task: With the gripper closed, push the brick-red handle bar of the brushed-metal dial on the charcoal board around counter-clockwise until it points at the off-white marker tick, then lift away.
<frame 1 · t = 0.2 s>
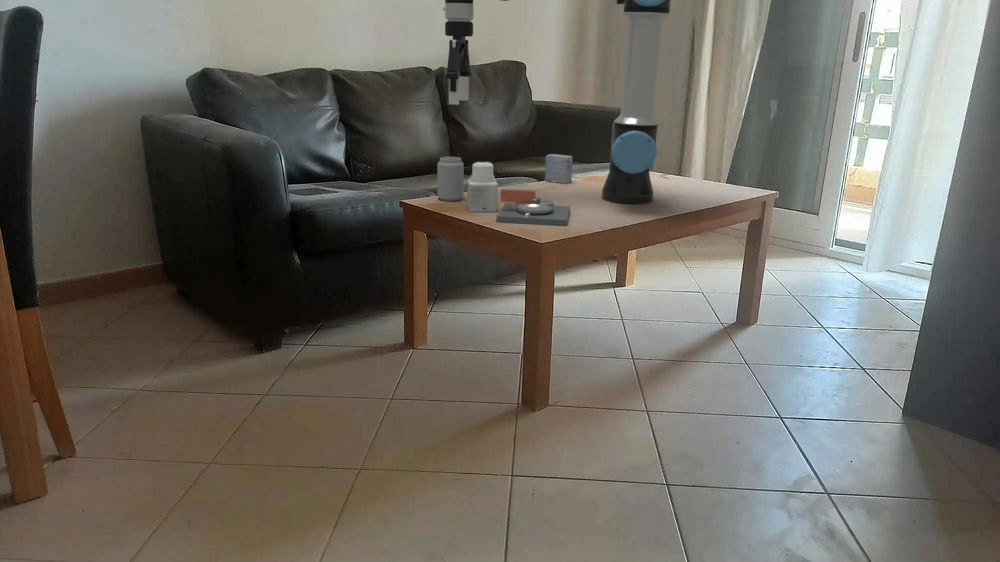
hand: (459, 102, 200), 27 cm above the table, fingers open, 13 cm apart
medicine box: (558, 182, 238), on the table
can: (450, 199, 210), on the table
dial: (527, 200, 190), point 4 cm above the table, hinge at 0.0°
container: (482, 209, 199), on the table
plate: (534, 216, 191), on the table
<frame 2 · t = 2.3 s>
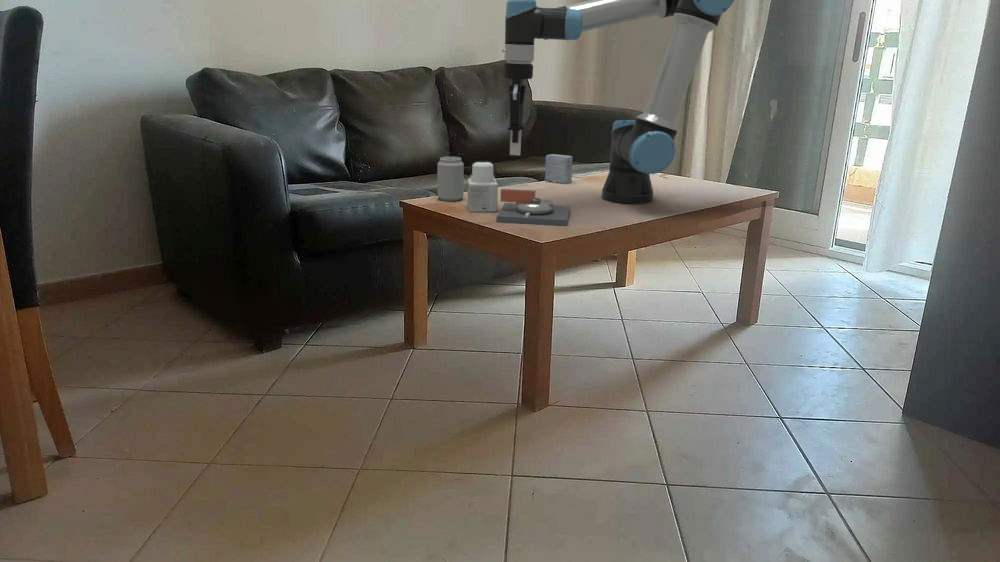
hand: (515, 154, 193), 15 cm above the table, fingers closed
nothing on the table moved.
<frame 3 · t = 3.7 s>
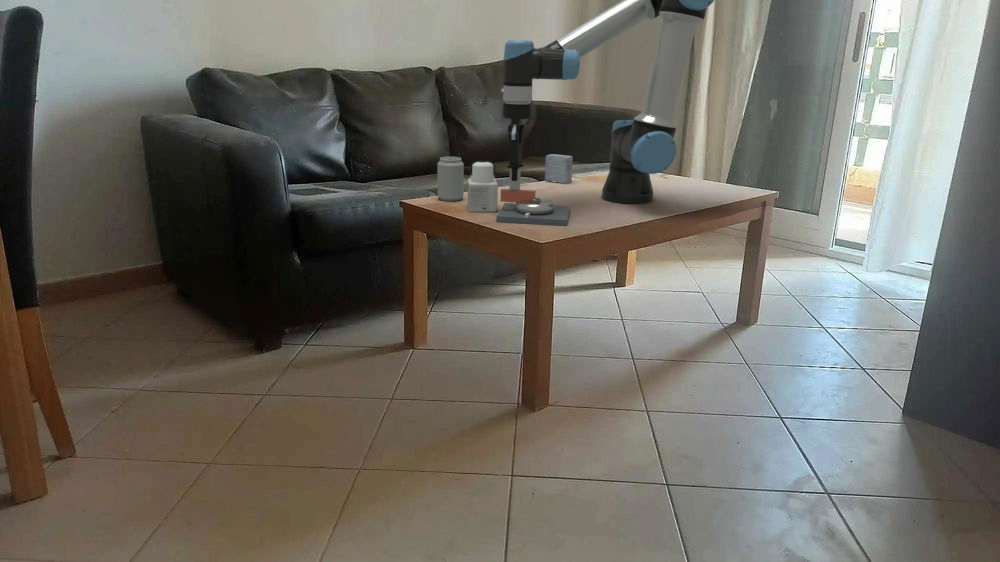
hand: (514, 191, 195), 5 cm above the table, fingers closed
nothing on the table moved.
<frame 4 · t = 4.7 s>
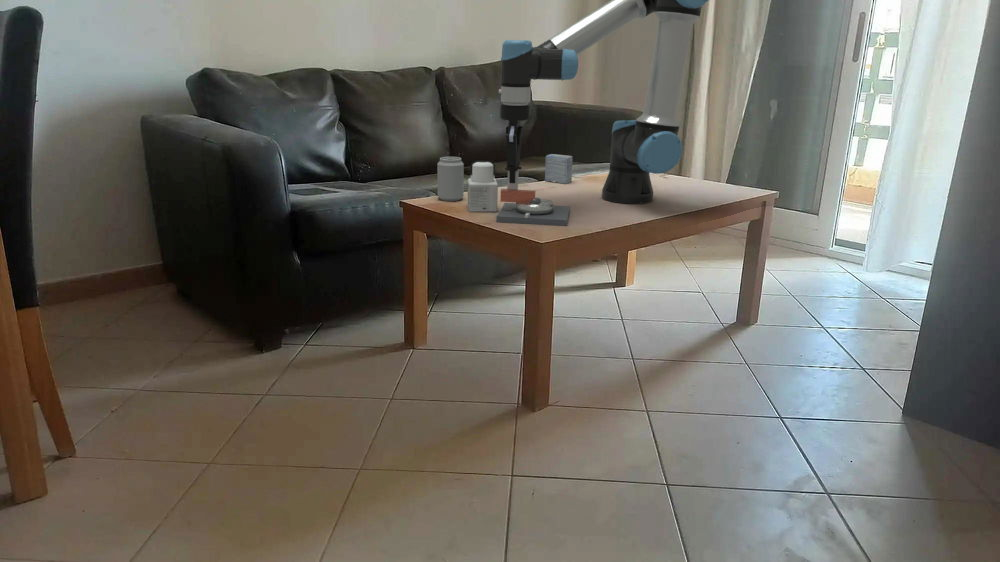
hand: (512, 194, 192), 5 cm above the table, fingers closed
dial: (527, 200, 190), point 4 cm above the table, hinge at 0.7°, touching gripper
everything else where it was.
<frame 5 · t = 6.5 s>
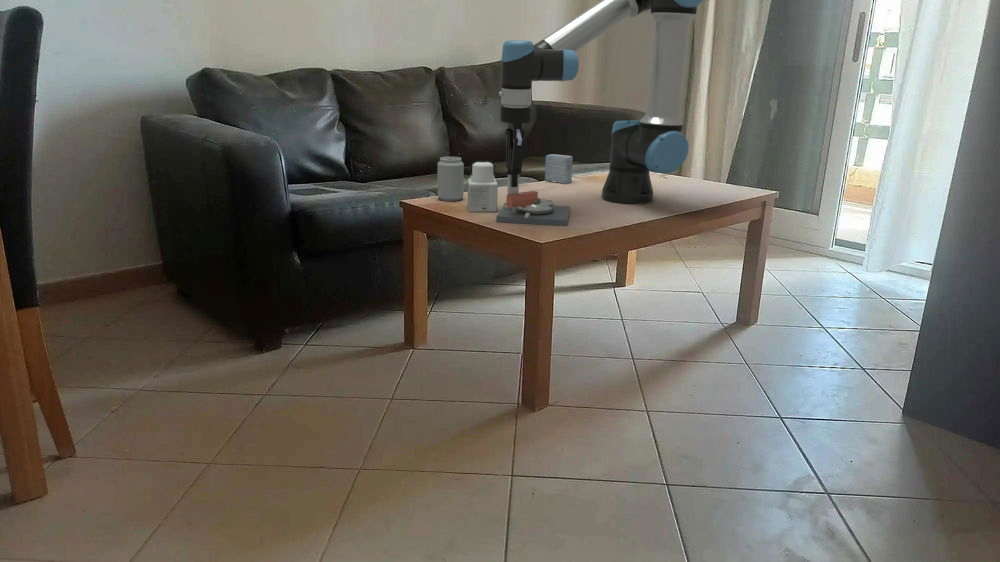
hand: (512, 198, 188), 5 cm above the table, fingers closed
dial: (529, 201, 189), point 4 cm above the table, hinge at 48.4°, touching gripper
everything else where it was.
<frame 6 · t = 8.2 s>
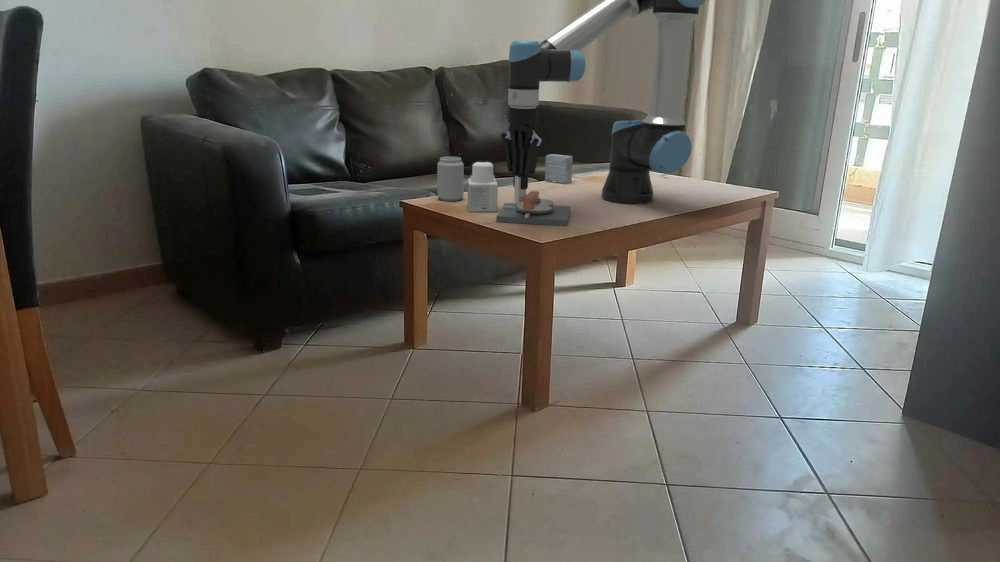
hand: (519, 201, 185), 5 cm above the table, fingers closed
dial: (533, 202, 188), point 4 cm above the table, hinge at 82.7°
everything else where it was.
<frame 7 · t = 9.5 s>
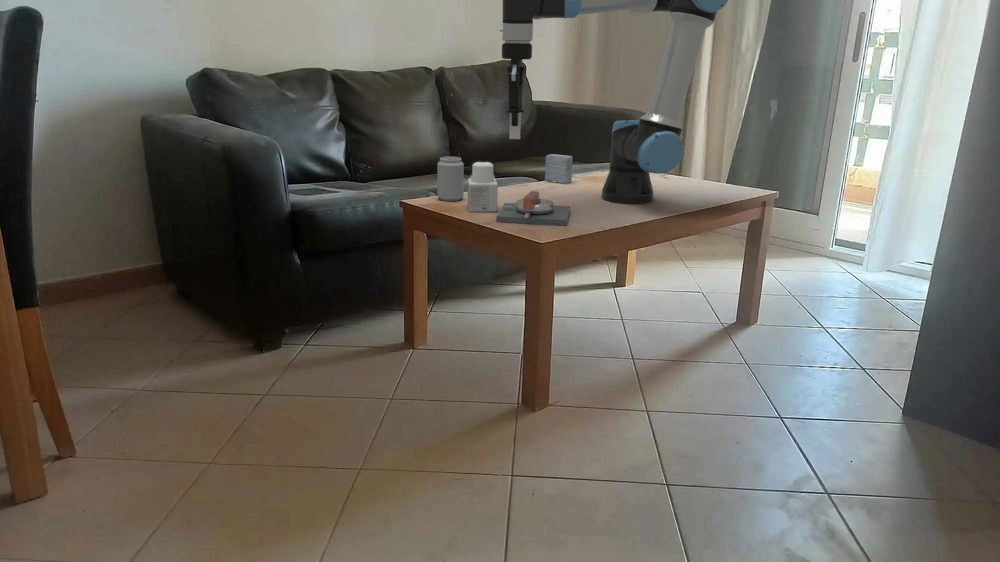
hand: (514, 138, 186), 20 cm above the table, fingers closed
nothing on the table moved.
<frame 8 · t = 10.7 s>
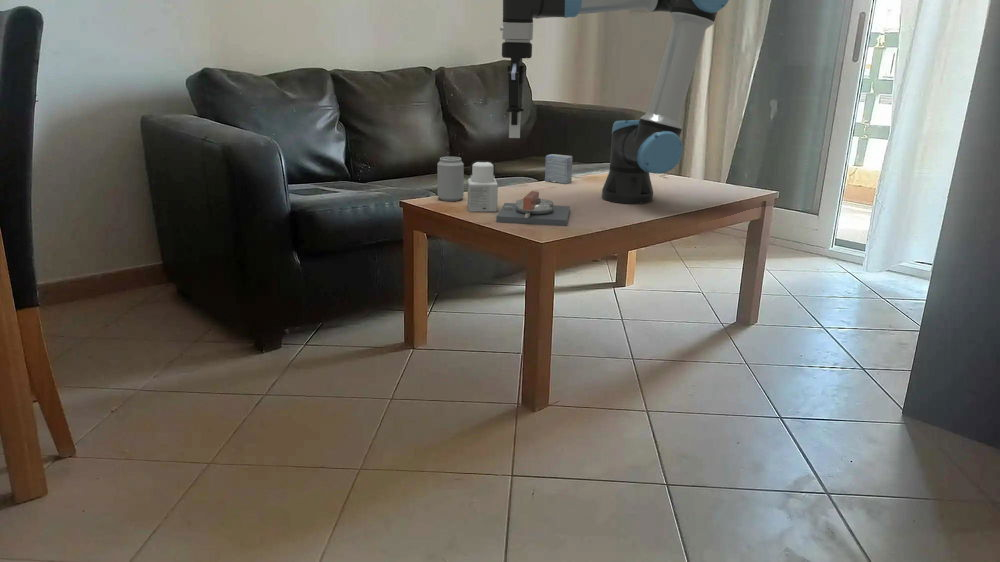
hand: (514, 137, 186), 20 cm above the table, fingers closed
nothing on the table moved.
at the end: dial at +83° (first picture: +0°) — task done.
